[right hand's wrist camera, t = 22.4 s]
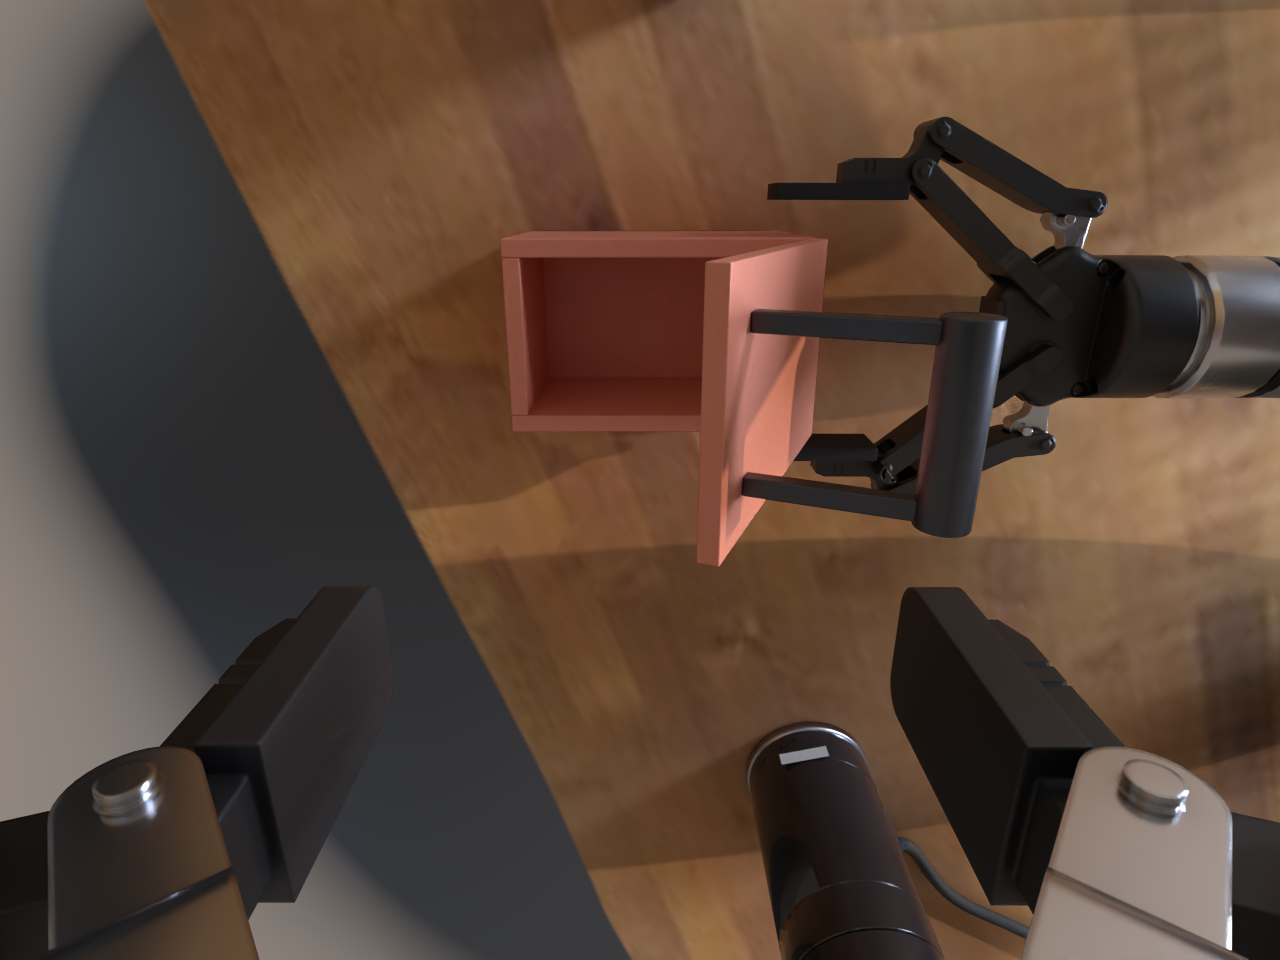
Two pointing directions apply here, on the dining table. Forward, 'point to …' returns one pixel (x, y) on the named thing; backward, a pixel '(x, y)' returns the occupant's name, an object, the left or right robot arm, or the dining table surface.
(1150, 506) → the dining table surface
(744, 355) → the lid
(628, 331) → the chest
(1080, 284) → the left robot arm
